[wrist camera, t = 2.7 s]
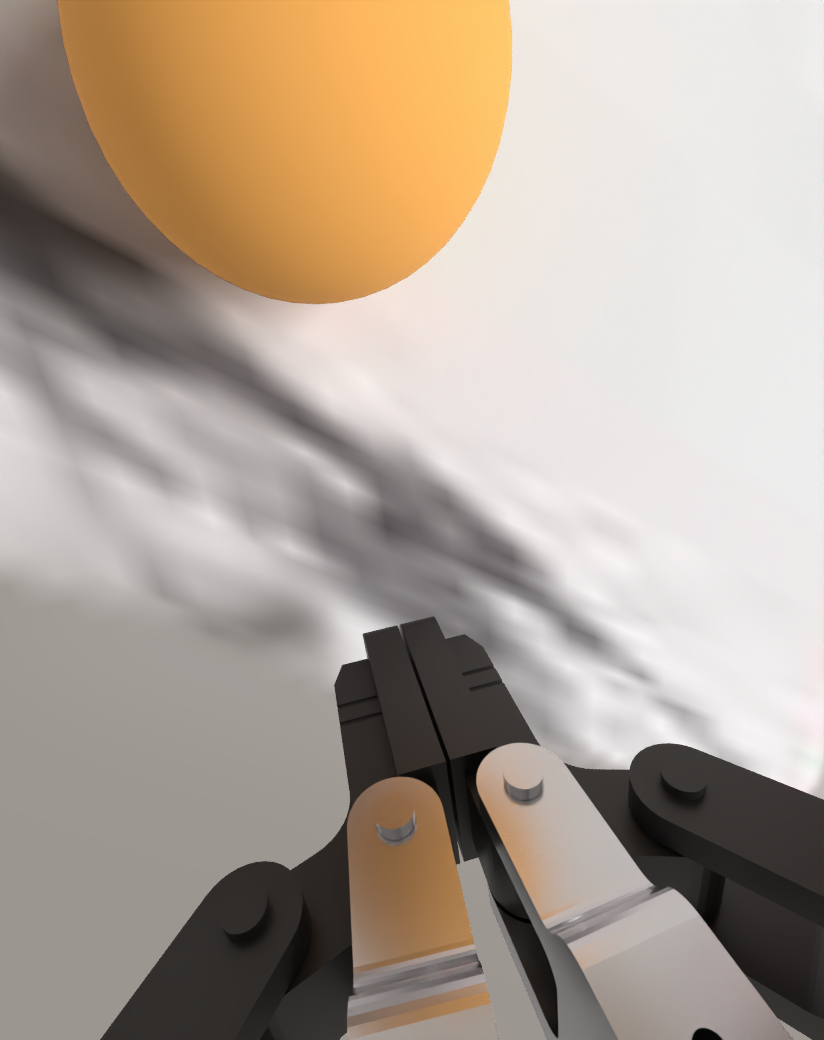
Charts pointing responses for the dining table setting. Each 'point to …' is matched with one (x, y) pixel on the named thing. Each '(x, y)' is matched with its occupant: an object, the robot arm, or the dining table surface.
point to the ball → (297, 129)
